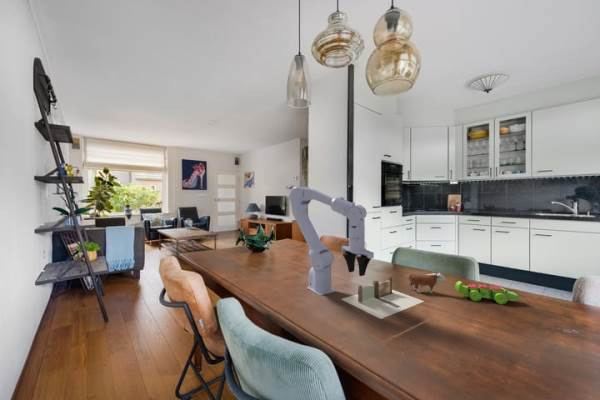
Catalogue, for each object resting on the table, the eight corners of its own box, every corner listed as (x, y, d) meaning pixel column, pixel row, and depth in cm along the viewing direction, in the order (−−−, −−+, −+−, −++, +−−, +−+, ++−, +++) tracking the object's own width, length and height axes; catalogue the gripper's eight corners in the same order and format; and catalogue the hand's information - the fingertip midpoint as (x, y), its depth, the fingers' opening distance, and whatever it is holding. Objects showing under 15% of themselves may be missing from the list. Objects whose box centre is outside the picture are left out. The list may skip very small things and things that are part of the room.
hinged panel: (371, 296, 95) (371, 281, 95) (374, 297, 94) (374, 282, 93) (357, 301, 90) (357, 285, 90) (360, 302, 89) (360, 286, 89)
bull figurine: (446, 295, 98) (447, 274, 97) (409, 293, 100) (409, 272, 100) (442, 291, 102) (443, 271, 102) (407, 289, 105) (407, 269, 104)
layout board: (340, 300, 93) (341, 299, 93) (383, 287, 106) (383, 286, 106) (380, 320, 78) (380, 318, 78) (424, 302, 91) (424, 301, 91)
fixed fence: (376, 298, 93) (376, 282, 93) (371, 297, 95) (371, 281, 95) (393, 293, 99) (393, 278, 99) (389, 291, 101) (389, 276, 101)
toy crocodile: (513, 299, 94) (513, 283, 94) (522, 307, 88) (522, 289, 88) (453, 293, 101) (453, 277, 101) (457, 299, 94) (457, 283, 94)
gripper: (379, 239, 91) (379, 276, 91) (350, 234, 103) (350, 267, 103) (365, 241, 87) (365, 280, 87) (337, 235, 99) (337, 270, 99)
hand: (356, 273), depth 95 cm, fingers open, 5 cm apart
